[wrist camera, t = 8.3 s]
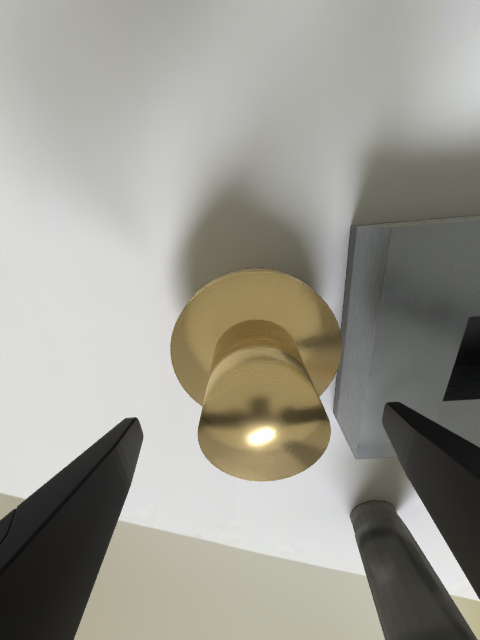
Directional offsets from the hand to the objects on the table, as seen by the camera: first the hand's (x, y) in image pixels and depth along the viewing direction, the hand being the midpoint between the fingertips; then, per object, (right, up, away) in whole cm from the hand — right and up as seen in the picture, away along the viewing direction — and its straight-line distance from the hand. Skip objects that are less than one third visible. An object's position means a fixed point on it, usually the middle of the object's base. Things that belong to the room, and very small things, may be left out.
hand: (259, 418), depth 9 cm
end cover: (0, +3, +7) cm, 8 cm away
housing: (+13, +3, +7) cm, 15 cm away
